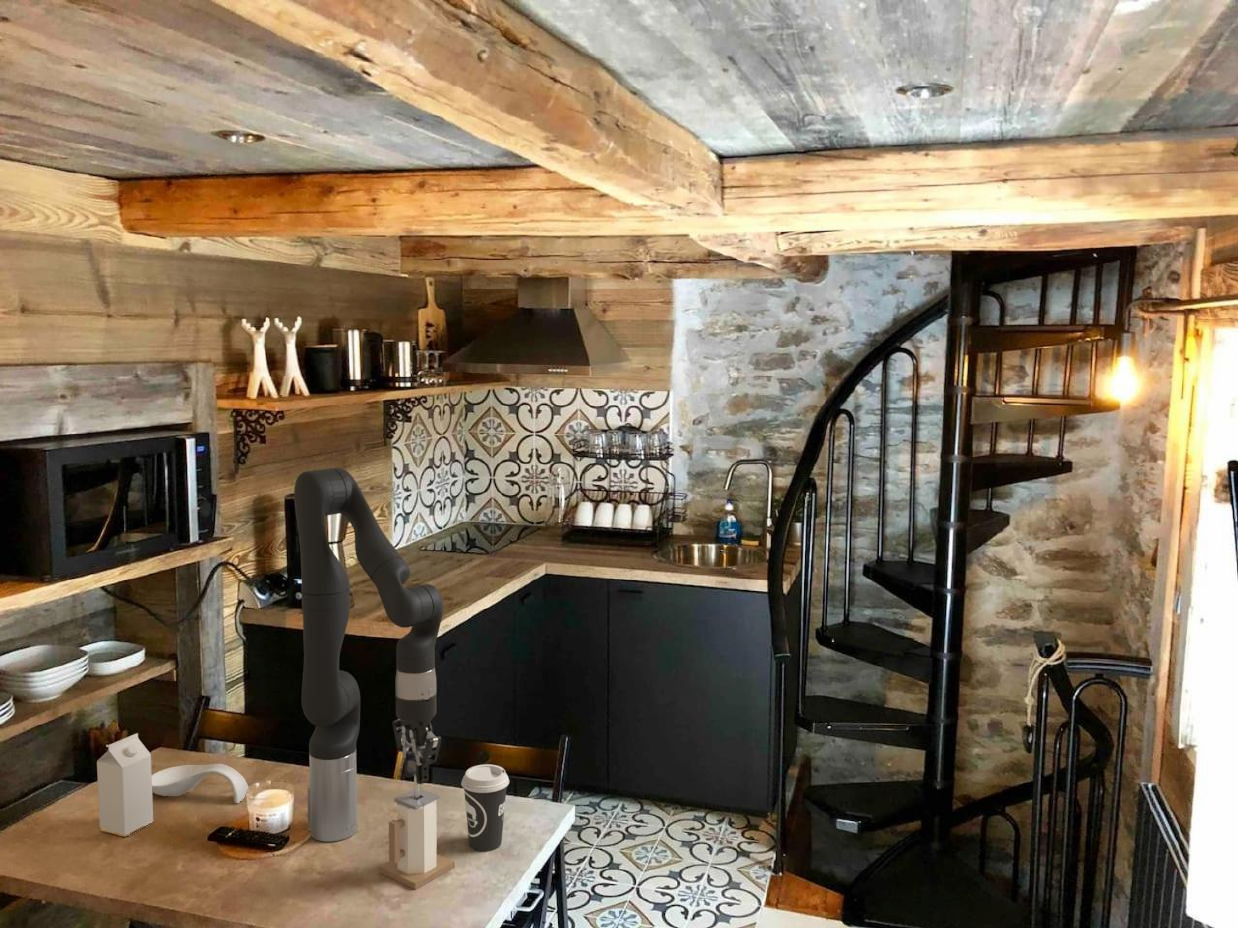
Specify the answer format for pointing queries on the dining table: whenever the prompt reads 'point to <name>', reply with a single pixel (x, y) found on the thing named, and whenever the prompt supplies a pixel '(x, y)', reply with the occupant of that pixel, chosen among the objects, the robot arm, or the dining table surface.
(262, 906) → the dining table surface
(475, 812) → the coffee cup
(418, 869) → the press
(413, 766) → the plunger
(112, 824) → the milk carton
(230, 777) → the spoon rest
